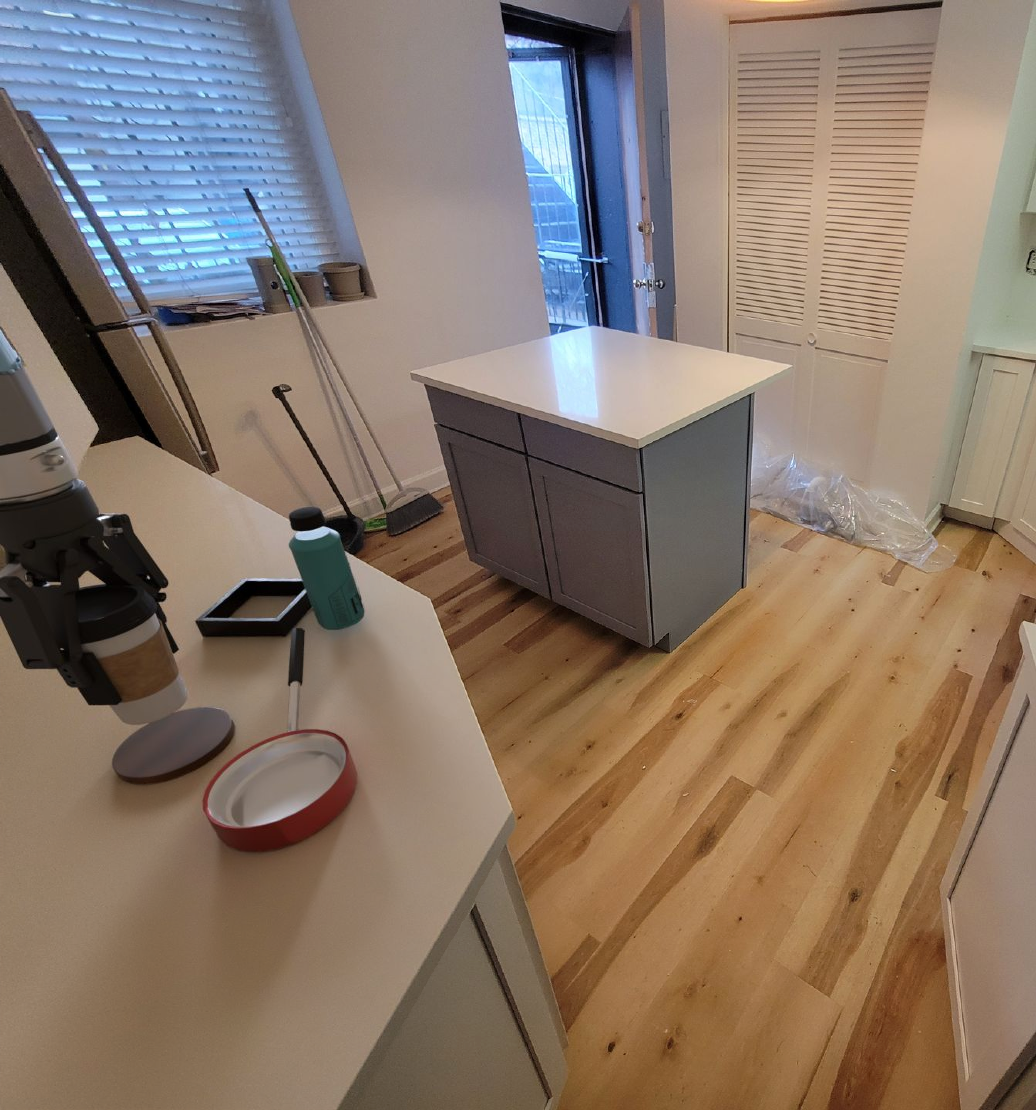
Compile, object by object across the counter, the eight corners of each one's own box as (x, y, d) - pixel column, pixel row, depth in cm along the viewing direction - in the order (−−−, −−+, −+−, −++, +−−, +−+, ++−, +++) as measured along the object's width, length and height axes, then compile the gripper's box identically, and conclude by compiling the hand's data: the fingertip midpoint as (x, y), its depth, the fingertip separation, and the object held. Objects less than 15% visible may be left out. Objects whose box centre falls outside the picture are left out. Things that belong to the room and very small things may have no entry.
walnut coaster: (89, 785, 68) (84, 778, 67) (162, 713, 77) (158, 707, 77) (195, 783, 69) (191, 776, 68) (254, 712, 78) (251, 706, 78)
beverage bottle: (366, 634, 93) (328, 518, 83) (315, 642, 91) (271, 524, 80) (371, 610, 98) (336, 498, 88) (323, 617, 96) (282, 503, 86)
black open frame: (202, 637, 90) (194, 621, 89) (250, 593, 100) (244, 578, 99) (285, 637, 91) (278, 621, 90) (324, 593, 101) (319, 578, 100)
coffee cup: (129, 687, 72) (65, 582, 64) (214, 676, 74) (162, 573, 67) (87, 740, 65) (11, 629, 57) (183, 726, 67) (121, 617, 60)
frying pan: (231, 683, 82) (213, 646, 79) (342, 653, 89) (330, 618, 86) (213, 877, 60) (187, 837, 57) (364, 819, 66) (348, 780, 63)
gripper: (-45, 543, 47) (96, 747, 59) (153, 449, 65) (232, 620, 76) (-154, 542, 47) (11, 748, 58) (77, 447, 64) (168, 620, 76)
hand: (136, 675), depth 67 cm, fingers closed on coffee cup, 8 cm apart
